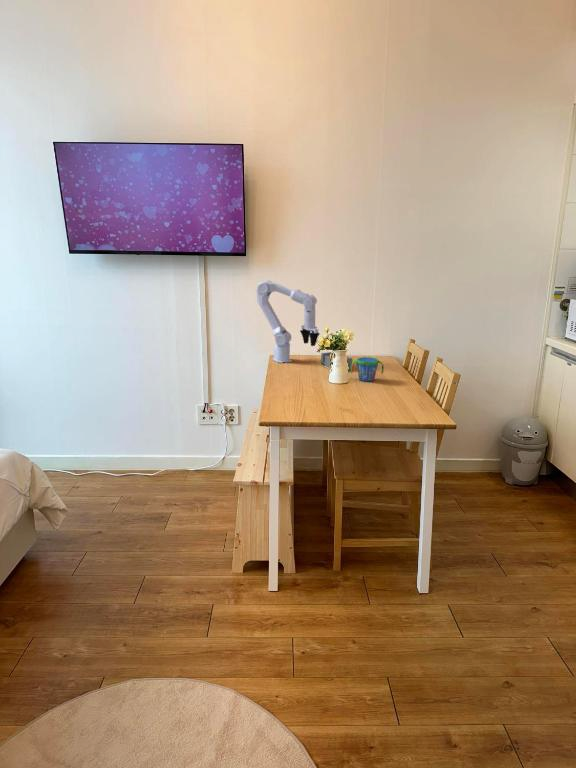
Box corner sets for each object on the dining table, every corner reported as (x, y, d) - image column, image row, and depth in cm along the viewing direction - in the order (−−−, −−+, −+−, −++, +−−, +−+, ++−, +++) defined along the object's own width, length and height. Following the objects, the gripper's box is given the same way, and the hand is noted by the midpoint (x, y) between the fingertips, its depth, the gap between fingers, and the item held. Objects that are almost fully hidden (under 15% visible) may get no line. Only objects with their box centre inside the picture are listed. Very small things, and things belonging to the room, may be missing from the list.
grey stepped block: (318, 364, 300) (318, 353, 299) (334, 362, 305) (335, 351, 303) (334, 371, 286) (335, 359, 284) (351, 369, 291) (352, 358, 289)
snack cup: (349, 381, 267) (351, 361, 265) (350, 376, 277) (351, 356, 275) (383, 383, 265) (384, 362, 263) (382, 378, 275) (383, 357, 273)
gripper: (323, 320, 290) (323, 346, 294) (309, 316, 303) (309, 341, 306) (311, 321, 287) (311, 347, 291) (298, 317, 299) (298, 342, 303)
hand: (309, 344), depth 298 cm, fingers open, 7 cm apart
